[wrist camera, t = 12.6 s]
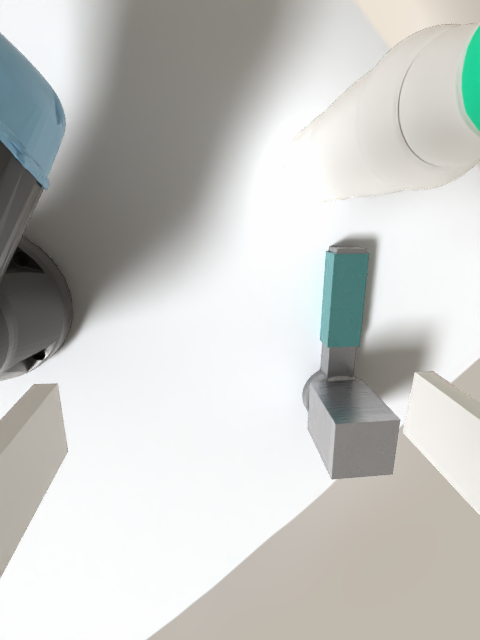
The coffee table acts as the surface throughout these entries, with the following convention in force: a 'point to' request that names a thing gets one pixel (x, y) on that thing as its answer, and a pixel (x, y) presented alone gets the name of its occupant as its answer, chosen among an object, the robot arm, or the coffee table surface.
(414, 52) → the water bottle
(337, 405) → the grey metal block
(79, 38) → the coffee table surface
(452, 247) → the coffee table surface
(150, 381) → the coffee table surface
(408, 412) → the robot arm
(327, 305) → the ratchet
